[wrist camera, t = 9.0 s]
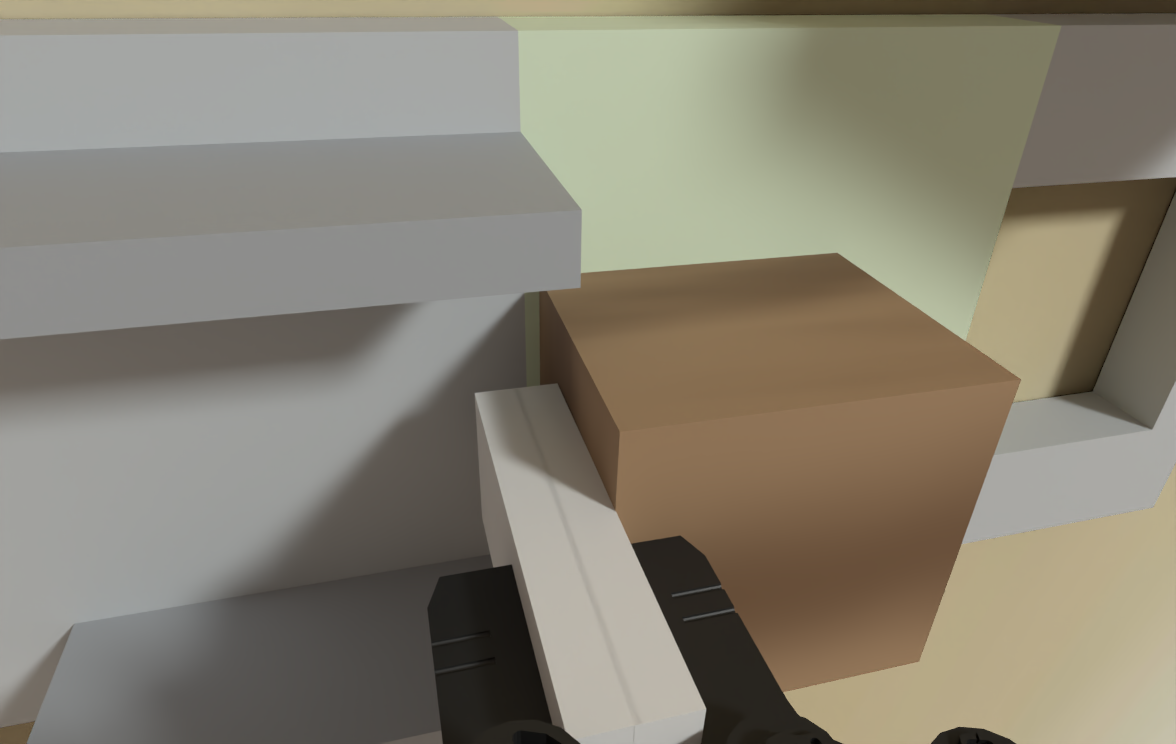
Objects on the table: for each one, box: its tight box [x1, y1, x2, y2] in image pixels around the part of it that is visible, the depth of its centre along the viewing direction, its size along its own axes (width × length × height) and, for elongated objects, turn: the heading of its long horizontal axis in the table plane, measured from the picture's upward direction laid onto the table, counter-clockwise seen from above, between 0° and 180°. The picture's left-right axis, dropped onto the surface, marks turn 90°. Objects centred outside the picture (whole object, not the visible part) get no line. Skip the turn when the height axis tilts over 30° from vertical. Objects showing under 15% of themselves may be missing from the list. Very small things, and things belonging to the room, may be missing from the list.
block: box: [539, 253, 1021, 692], centre depth 14 cm, size 6×6×5 cm
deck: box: [0, 13, 1176, 744], centre depth 14 cm, size 13×35×6 cm, turn 89°
